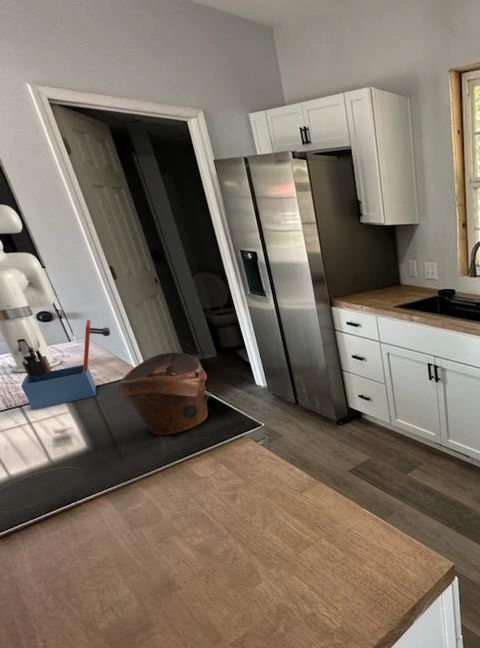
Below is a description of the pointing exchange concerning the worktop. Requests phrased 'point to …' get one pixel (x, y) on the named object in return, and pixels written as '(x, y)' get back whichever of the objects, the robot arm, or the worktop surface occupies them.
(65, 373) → the storage box
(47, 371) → the walnut block
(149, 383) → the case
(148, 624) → the worktop surface
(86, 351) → the box lid
